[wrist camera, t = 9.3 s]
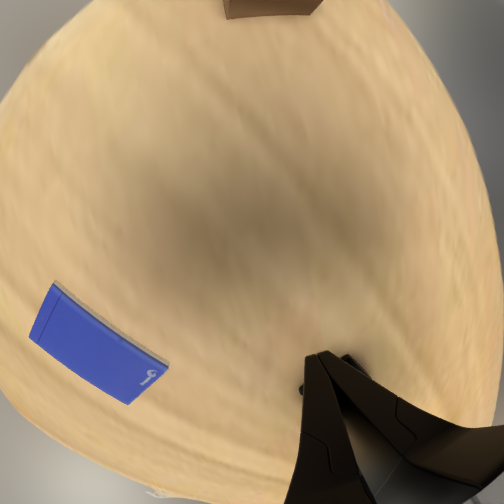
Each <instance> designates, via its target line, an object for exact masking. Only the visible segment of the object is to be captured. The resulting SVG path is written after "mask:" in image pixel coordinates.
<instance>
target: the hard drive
mask: <svg viewBox="0 0 504 504" xmlns="http://www.w3.org/2000/svg"><path fill="white" fill-rule="evenodd" d="M29 338H30V339H31V340H32V341H34V342H35V343H36V344H38V345H39V346H40V347H41V348H43V349H44V350H45V351H46V352H48V353H49V354H50V355H51V356H53V357H54V358H55V359H57V360H58V361H59V362H61V363H62V364H63V365H65V366H66V367H68V368H69V369H70V370H72V371H73V372H75V373H76V374H78V375H79V376H80V377H82V378H83V379H85V380H86V381H88V382H90V383H91V384H93V385H94V386H96V387H97V388H99V389H101V390H102V391H104V392H106V393H107V394H109V395H111V396H112V397H114V398H116V399H117V400H119V401H121V402H123V403H125V404H127V405H129V404H130V403H131V402H132V401H134V400H135V399H136V398H137V397H138V396H139V395H140V394H142V393H143V392H144V391H145V390H146V389H147V388H148V387H149V386H151V385H152V384H153V383H154V382H155V381H156V380H157V379H158V378H159V377H161V376H162V375H163V374H164V373H165V372H166V371H167V370H168V367H169V362H168V361H166V360H164V359H163V358H161V357H160V356H158V355H156V354H155V353H153V352H152V351H150V350H148V349H147V348H145V347H144V346H142V345H141V344H139V343H138V342H136V341H135V340H133V339H132V338H130V337H129V336H127V335H126V334H124V333H123V332H122V331H120V330H119V329H117V328H116V327H115V326H113V325H112V324H110V323H109V322H108V321H106V320H105V319H104V318H102V317H101V316H99V315H98V314H97V313H96V312H94V311H93V310H92V309H90V308H89V307H88V306H86V305H85V304H84V303H83V302H81V301H80V300H79V299H78V298H76V297H75V296H74V295H73V294H72V293H70V292H69V291H68V290H67V289H66V288H64V287H63V286H62V285H61V284H60V283H59V282H57V281H55V282H54V283H53V284H52V285H51V287H50V289H49V291H48V293H47V295H46V297H45V299H44V302H43V304H42V306H41V308H40V310H39V313H38V315H37V317H36V320H35V322H34V325H33V327H32V330H31V332H30V335H29Z"/></svg>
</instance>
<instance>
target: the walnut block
mask: <svg viewBox="0 0 504 504" xmlns="http://www.w3.org/2000/svg"><path fill="white" fill-rule="evenodd" d="M322 1H323V0H223V4H224V9H225V13H226V18H227V20H228V19H236V18H245V17H257V16H274V15H310V14H311V13H312V12H313V11H314V10H315V9H316V8H317V7H318V5H319V4H320V3H321V2H322Z"/></svg>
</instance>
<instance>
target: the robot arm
mask: <svg viewBox="0 0 504 504" xmlns="http://www.w3.org/2000/svg"><path fill="white" fill-rule="evenodd" d="M299 392H300V394H301V395H303V405H302V420H301V433H300V443H299V451H298V457H297V461H296V465H295V469H294V473H293V476H292V479H291V483H290V486H289V489H288V492H287V495H286V499H285V501H284V504H504V425H499V426H491V427H481V428H466V427H461V426H458V425H455V424H453V423H451V422H448V421H446V420H443V419H441V418H439V417H436V416H434V415H432V414H430V413H428V412H425V411H423V410H421V409H419V408H417V407H416V406H414V405H412V404H410V403H409V402H407V401H405V400H404V399H402V398H400V397H398V396H397V395H395V394H394V393H392V392H391V391H389V390H388V389H386V388H384V387H383V386H381V385H380V384H378V383H377V382H375V381H374V380H372V378H371V377H370V376H369V375H368V374H367V373H366V371H365V370H364V369H363V368H362V367H361V366H360V365H359V364H358V363H357V362H356V361H355V360H354V359H353V358H352V357H351V356H350V355H347V356H345V357H343V358H342V359H340V358H339V357H337V356H336V355H334V354H333V353H331V352H330V351H327V350H326V351H323V352H319V353H317V355H316V354H312V355H309V356H306V357H305V366H304V385H303V386H302V387H300V388H299Z"/></svg>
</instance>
